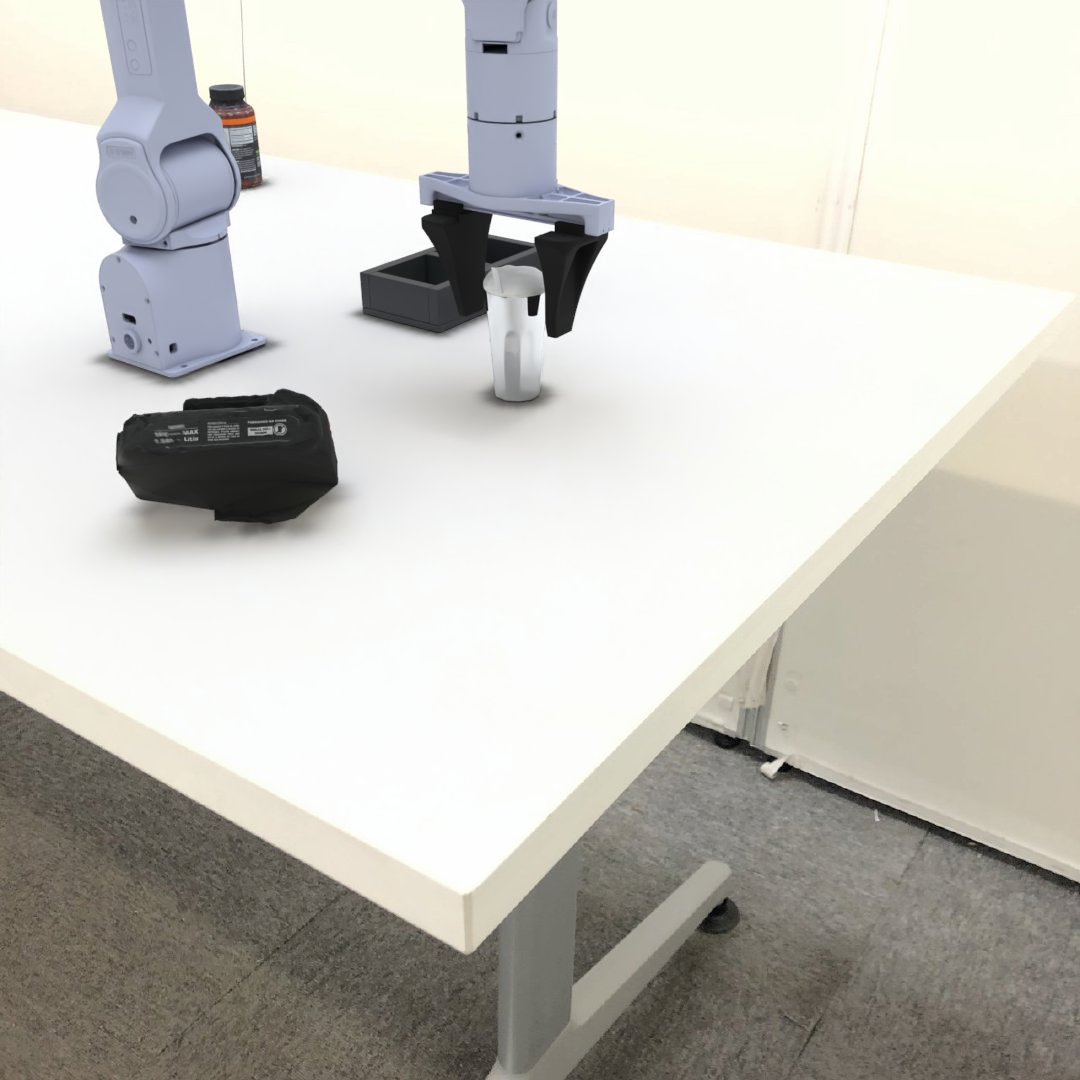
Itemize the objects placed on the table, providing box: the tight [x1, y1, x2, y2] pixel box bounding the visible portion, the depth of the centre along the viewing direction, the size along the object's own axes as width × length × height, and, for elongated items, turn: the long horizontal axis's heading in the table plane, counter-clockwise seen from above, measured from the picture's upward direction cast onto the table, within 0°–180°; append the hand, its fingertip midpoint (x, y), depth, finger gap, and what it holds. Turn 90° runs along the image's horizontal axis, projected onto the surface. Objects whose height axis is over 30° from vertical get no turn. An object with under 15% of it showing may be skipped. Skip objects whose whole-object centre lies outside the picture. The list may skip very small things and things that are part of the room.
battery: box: [115, 387, 339, 525], centre depth 64 cm, size 12×8×7 cm
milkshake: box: [483, 265, 546, 403], centre depth 78 cm, size 4×5×10 cm
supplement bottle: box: [208, 83, 263, 189], centre depth 135 cm, size 6×6×11 cm
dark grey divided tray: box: [359, 233, 542, 333], centre depth 99 cm, size 8×16×4 cm, turn 145°
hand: (514, 322), depth 78 cm, fingers open, 7 cm apart
